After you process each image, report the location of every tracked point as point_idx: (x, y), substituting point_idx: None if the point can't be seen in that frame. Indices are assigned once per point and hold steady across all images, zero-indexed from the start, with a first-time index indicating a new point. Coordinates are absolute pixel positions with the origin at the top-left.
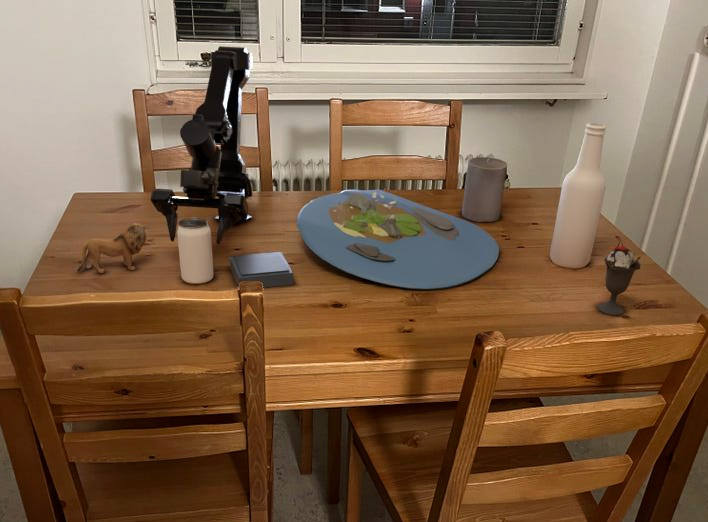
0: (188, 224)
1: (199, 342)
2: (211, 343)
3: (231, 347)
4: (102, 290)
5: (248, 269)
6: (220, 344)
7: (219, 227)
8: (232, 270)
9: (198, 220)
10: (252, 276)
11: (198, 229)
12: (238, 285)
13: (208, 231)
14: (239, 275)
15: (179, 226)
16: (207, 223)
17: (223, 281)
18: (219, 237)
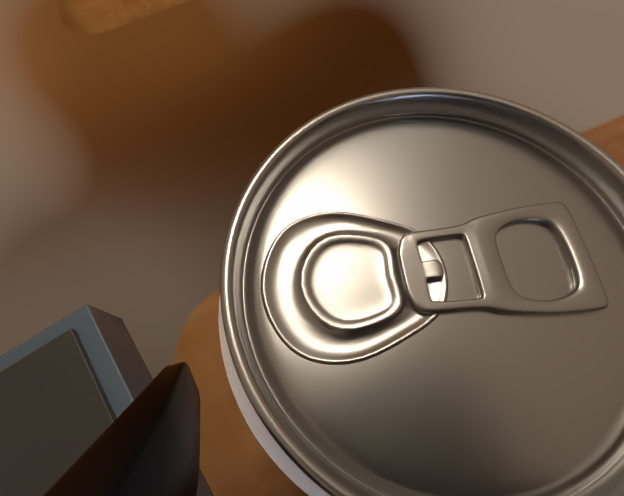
0: (489, 217)
1: (148, 5)
2: (116, 9)
3: (59, 10)
4: (605, 135)
5: (44, 414)
6: (91, 12)
7: (100, 486)
8: (203, 492)
9: (477, 463)
10: (16, 349)
11: (288, 164)
12: (122, 331)
13: (219, 306)
14: (90, 334)
15: (561, 161)
16: (224, 330)
17: (224, 379)
18: (140, 396)
